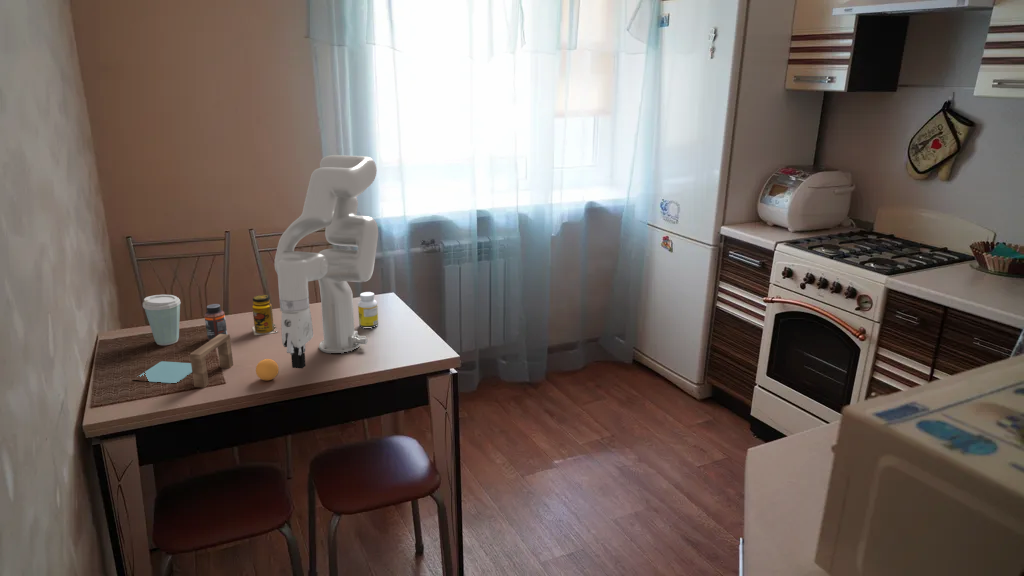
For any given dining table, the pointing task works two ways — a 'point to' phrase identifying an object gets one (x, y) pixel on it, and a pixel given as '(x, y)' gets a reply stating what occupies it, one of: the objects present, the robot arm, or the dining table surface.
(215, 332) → the supplement bottle
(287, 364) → the dining table surface
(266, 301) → the condiment
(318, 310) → the dining table surface
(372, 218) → the robot arm
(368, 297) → the pill bottle
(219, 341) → the bridge
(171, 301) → the disposable coffee cup
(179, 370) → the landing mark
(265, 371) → the ball
